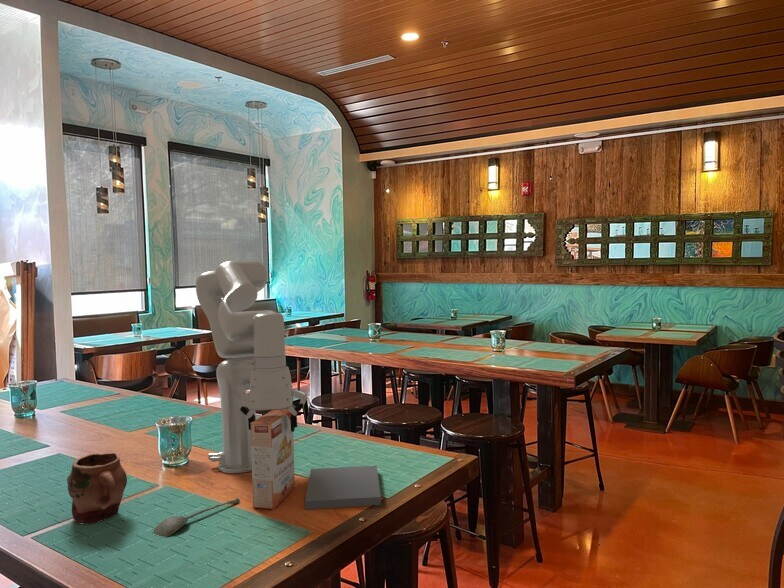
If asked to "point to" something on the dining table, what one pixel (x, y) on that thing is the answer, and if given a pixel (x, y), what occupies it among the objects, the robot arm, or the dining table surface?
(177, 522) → the soupspoon
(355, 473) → the serving board
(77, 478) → the decorative planter
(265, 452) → the cracker box
